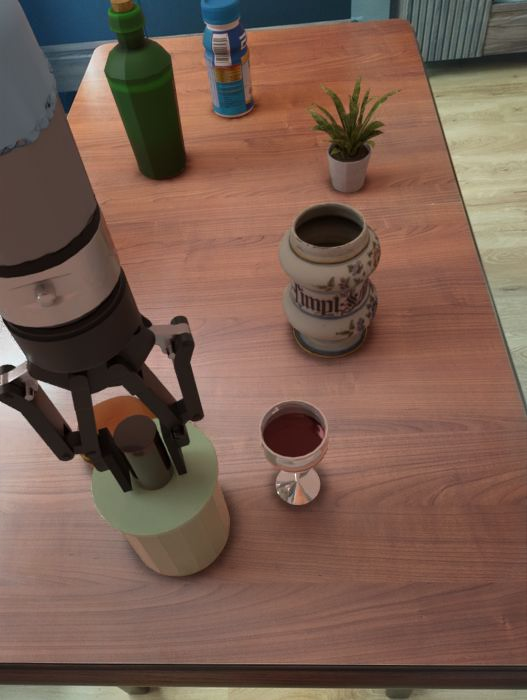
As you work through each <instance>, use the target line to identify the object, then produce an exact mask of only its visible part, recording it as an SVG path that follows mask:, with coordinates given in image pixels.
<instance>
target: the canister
mask: <svg viewBox="0 0 527 700" xmlns="http://www.w3.org/2000/svg"><path fill="white" fill-rule="evenodd" d="M230 529H231V517H230V512H229V509H228V505H227V502H226V499H225V496H224V493H223V490H222V487H221V484H220V481H219V480H218V482H217V486H216V489H215V492H214V494H213V496H212V498H211V500H210V502H209V503H208V505H207V506H206V507H205V509H204V510H203V511H202V512H201V513H200V514H199V515H198V516H197V517H196V518H195V519H194V520H193V521H192V522H190V523H189V524H187V525H186V526H184V527H182V528H181V529H179V530H177V531H174V532H172V533H169V534H166V535H162V536H158V537H135V536H130V535H127V534H124V533H122V535H123V536H124V538H125V539H126V540H127V542H128V543H129V544H130V546H131V547H132V548H133V551H135V552H136V554H137V555H138V557H139V558H140V560H141V561H142V562H143V564H145V566H147V567H148V568H149V569H151V570H153V571H154V572H156V573H158V574H160V575H163V576H168V577H187V576H190V575H193V574H196V573H198V572H200V571H202V570H204V569H206V568H207V567H208V566H209V565H211V564H213V562H214V561H215V560H216V559H217V558H218V557H219V556H220V554H221V553H222V551H223V550H224V548H225V546H226V544H227V541H228V539H229V536H230Z"/></svg>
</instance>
